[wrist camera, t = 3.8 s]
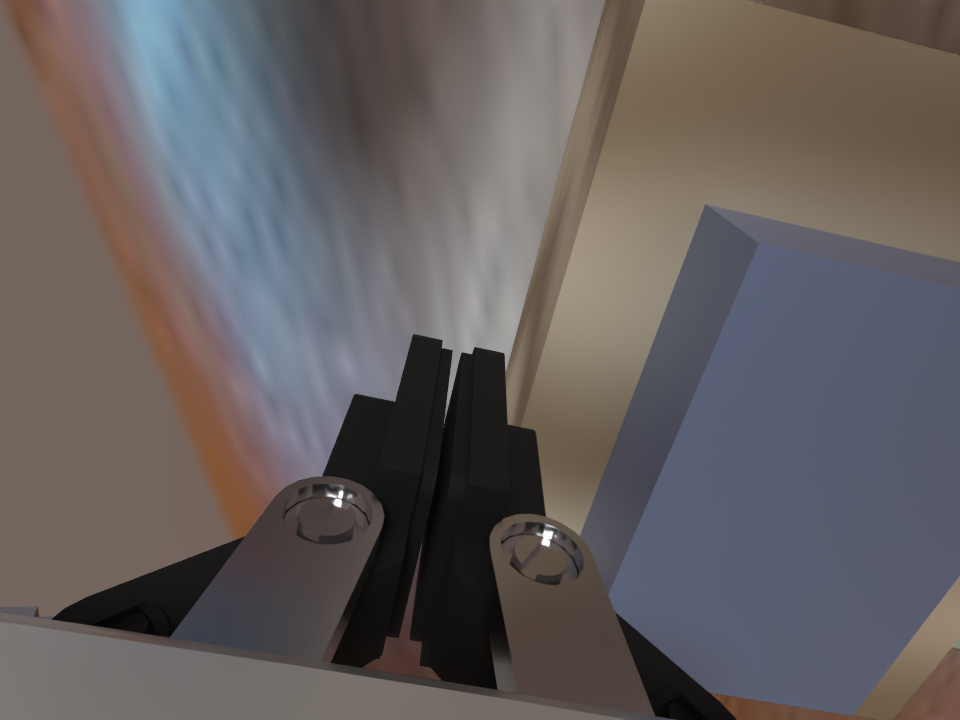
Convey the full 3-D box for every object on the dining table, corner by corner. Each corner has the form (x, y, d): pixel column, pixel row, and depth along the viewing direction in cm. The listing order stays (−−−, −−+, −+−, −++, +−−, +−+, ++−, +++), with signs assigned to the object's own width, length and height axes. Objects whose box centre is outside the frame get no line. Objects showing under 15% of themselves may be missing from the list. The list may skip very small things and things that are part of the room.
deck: (607, -5, 13) (653, -25, 9) (1128, 128, 14) (1351, 156, 10) (461, 540, 19) (454, 651, 16) (821, 604, 20) (891, 722, 17)
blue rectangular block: (705, 203, 11) (759, 243, 9) (1021, 276, 11) (1146, 330, 9) (562, 580, 15) (575, 671, 13) (801, 621, 15) (852, 715, 13)
